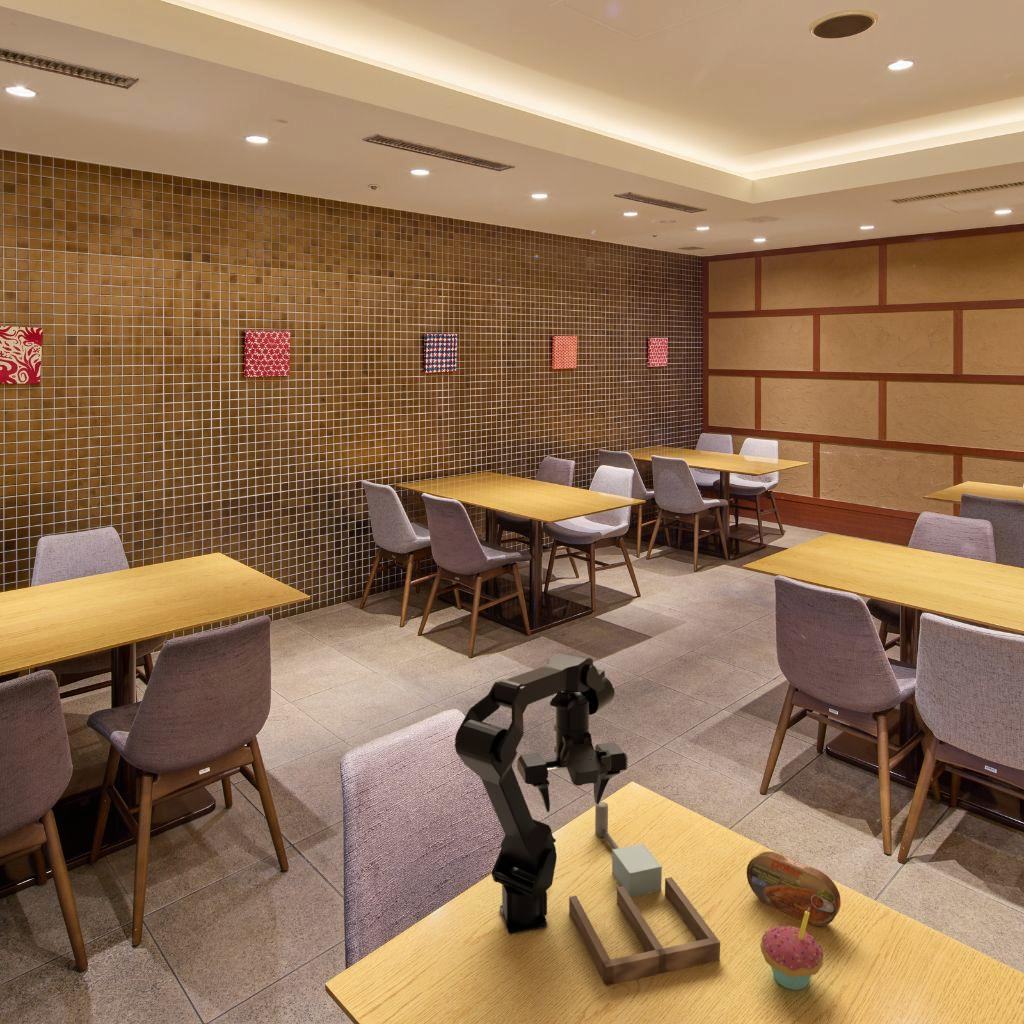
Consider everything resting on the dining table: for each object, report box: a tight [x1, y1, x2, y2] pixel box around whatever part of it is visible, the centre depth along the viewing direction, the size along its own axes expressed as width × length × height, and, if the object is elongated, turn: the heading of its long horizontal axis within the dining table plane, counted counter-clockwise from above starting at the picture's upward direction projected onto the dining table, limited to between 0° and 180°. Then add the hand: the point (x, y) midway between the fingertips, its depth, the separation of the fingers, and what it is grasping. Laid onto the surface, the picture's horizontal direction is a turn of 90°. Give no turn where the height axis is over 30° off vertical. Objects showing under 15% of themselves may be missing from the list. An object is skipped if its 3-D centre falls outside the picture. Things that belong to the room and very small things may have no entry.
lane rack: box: [568, 876, 721, 986], centre depth 121 cm, size 18×16×3 cm
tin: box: [746, 851, 842, 927], centre depth 126 cm, size 15×3×8 cm, turn 47°
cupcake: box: [760, 907, 824, 991], centre depth 111 cm, size 9×8×12 cm
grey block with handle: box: [594, 801, 663, 898], centre depth 140 cm, size 6×20×6 cm, turn 17°
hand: (572, 806), depth 136 cm, fingers open, 9 cm apart
